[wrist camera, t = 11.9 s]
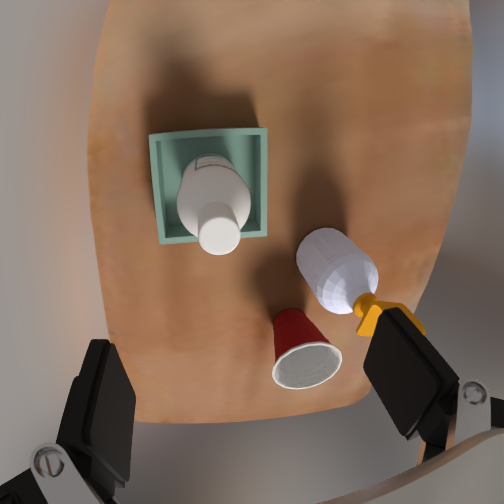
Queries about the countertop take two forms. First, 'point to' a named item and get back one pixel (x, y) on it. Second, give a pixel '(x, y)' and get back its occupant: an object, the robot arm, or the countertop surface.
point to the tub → (193, 145)
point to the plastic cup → (302, 352)
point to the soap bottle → (344, 278)
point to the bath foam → (213, 203)
